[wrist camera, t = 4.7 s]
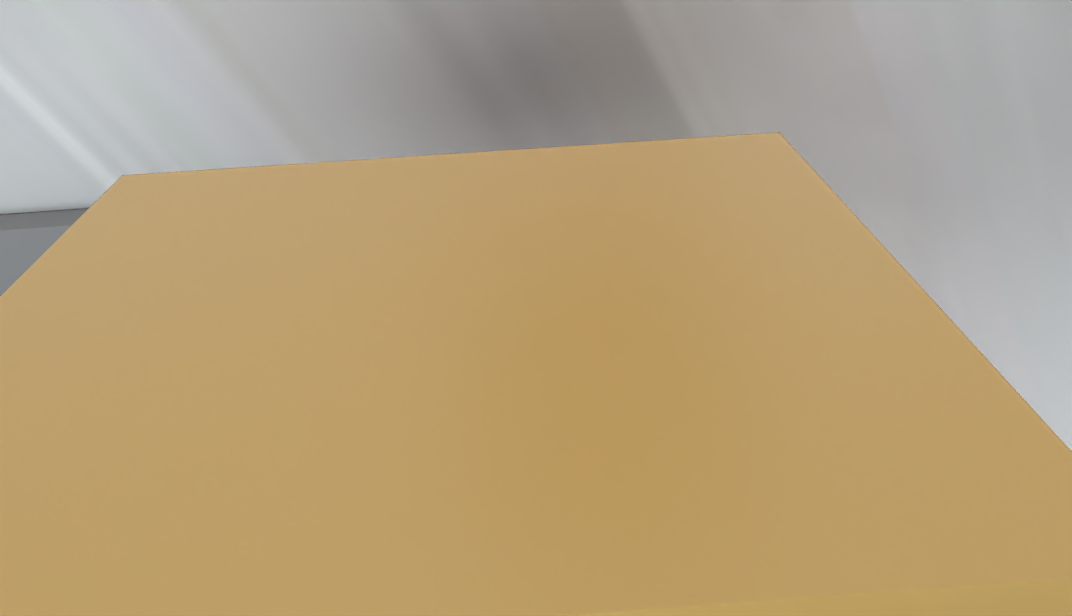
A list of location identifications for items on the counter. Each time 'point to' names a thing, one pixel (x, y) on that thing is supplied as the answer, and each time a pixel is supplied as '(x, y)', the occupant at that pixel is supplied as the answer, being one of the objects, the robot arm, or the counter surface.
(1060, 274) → the counter surface
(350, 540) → the ochre brick
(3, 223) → the baseplate
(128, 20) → the counter surface
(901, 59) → the counter surface
